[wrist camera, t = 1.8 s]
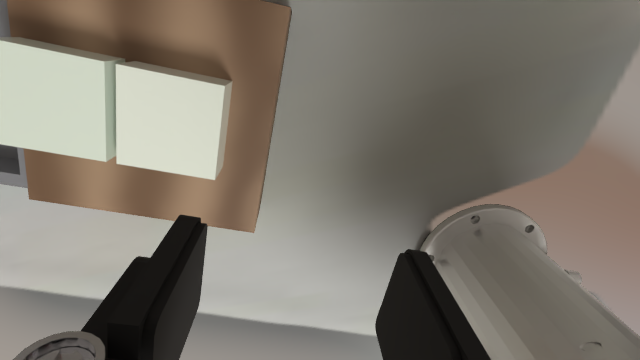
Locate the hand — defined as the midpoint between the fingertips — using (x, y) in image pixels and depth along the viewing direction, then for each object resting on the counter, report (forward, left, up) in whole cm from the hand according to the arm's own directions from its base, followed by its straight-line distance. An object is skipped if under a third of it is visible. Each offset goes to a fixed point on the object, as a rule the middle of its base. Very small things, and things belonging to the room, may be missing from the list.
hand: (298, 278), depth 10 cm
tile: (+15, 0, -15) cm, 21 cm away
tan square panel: (+10, 0, -20) cm, 22 cm away
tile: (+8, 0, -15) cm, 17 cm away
